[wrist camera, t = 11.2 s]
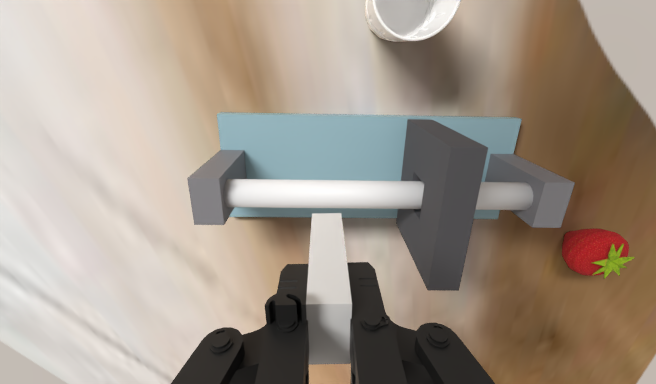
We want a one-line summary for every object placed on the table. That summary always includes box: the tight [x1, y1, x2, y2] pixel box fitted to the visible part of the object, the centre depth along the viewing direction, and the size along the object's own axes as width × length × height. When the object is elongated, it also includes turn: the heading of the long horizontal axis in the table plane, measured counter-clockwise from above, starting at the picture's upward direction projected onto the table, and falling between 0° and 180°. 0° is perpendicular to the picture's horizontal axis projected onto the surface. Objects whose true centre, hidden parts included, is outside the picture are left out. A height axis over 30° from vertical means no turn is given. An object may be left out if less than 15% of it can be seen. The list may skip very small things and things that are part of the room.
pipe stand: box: [188, 112, 575, 228], centre depth 38 cm, size 38×14×12 cm, turn 89°
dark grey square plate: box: [396, 119, 488, 290], centre depth 35 cm, size 3×14×14 cm, turn 179°
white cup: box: [365, 0, 461, 42], centre depth 32 cm, size 8×8×10 cm
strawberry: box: [562, 229, 634, 279], centre depth 44 cm, size 6×8×10 cm
